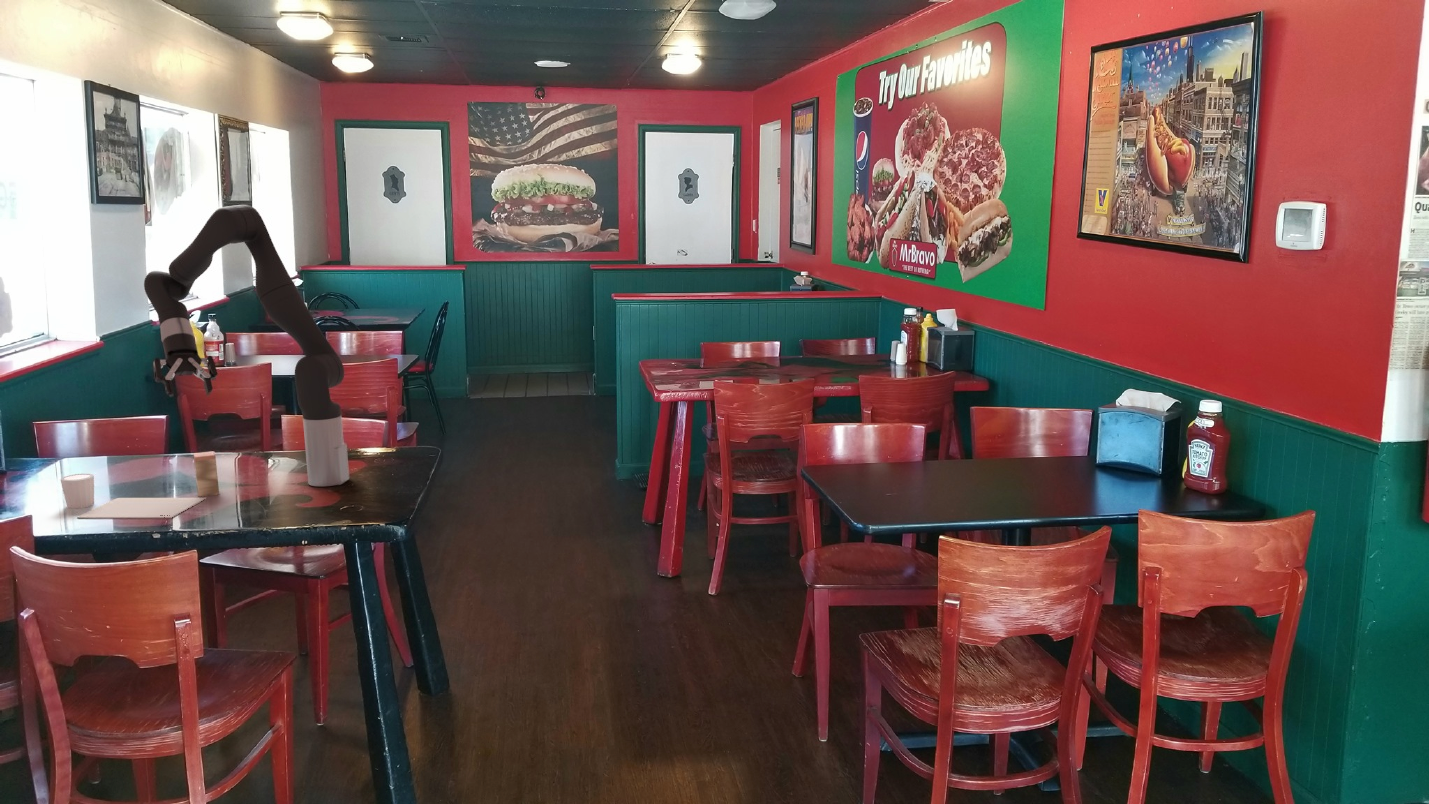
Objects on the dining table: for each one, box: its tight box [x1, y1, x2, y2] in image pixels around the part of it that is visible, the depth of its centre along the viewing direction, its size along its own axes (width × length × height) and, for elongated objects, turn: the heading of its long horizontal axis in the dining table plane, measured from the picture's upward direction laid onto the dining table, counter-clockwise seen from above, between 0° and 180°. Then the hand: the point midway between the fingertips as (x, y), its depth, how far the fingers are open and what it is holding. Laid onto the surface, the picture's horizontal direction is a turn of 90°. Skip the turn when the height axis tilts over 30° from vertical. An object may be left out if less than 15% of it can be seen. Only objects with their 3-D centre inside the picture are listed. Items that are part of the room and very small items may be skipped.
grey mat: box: [76, 497, 207, 520], centre depth 250 cm, size 22×16×1 cm
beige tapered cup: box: [59, 473, 95, 509], centre depth 253 cm, size 7×7×7 cm
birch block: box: [193, 451, 220, 498], centre depth 262 cm, size 5×5×10 cm
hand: (190, 394), depth 268 cm, fingers open, 8 cm apart
